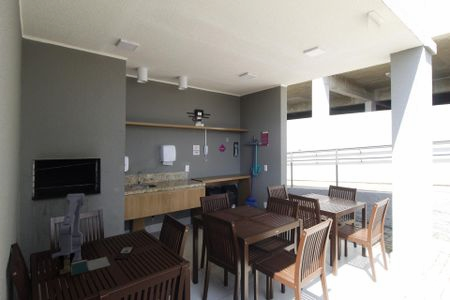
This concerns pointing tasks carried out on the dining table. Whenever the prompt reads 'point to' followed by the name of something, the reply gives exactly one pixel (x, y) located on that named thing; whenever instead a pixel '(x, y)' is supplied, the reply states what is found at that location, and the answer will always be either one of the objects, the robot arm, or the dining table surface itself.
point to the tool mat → (97, 263)
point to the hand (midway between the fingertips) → (66, 266)
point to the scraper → (66, 266)
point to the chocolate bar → (124, 253)
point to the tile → (78, 267)
